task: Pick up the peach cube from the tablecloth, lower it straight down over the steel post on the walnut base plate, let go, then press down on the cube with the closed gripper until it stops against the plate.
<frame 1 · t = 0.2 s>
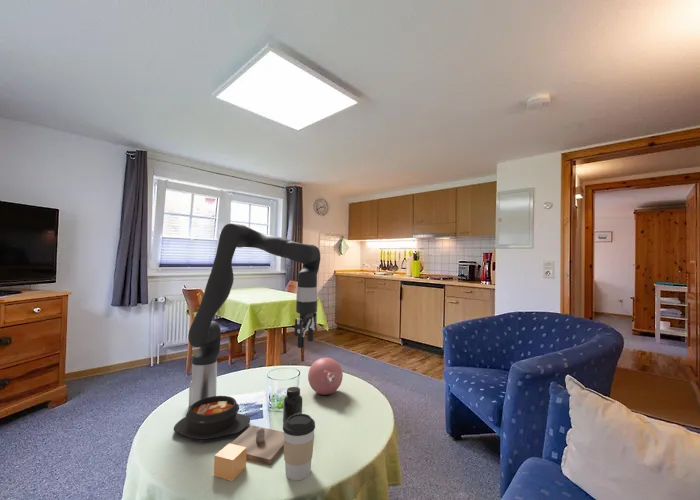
hand: (305, 344, 113), 29 cm above the table, tool pointing down, fingers open, 8 cm apart
peach cube: (230, 471, 88), on the table
post stand: (260, 445, 100), on the table
supplement bottle: (292, 423, 114), on the table
casserole: (212, 429, 109), on the table
coffee cup: (298, 472, 88), on the table
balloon: (325, 395, 137), on the table
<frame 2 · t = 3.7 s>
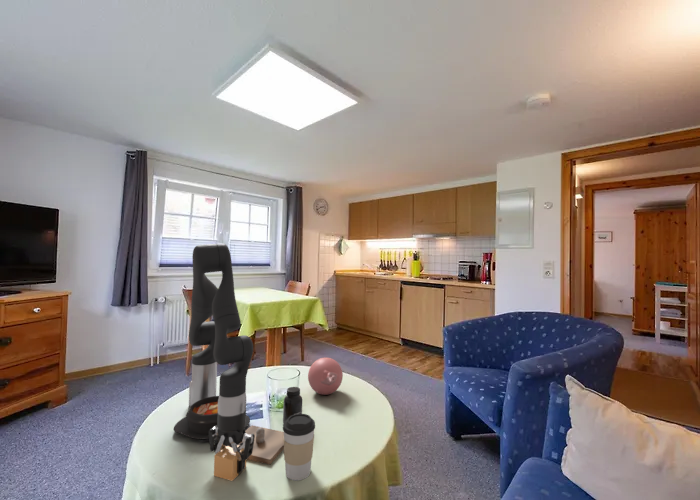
hand: (230, 468, 87), 1 cm above the table, tool pointing down, fingers closed on peach cube, 6 cm apart
peach cube: (230, 471, 88), on the table, touching gripper
everything else where it was.
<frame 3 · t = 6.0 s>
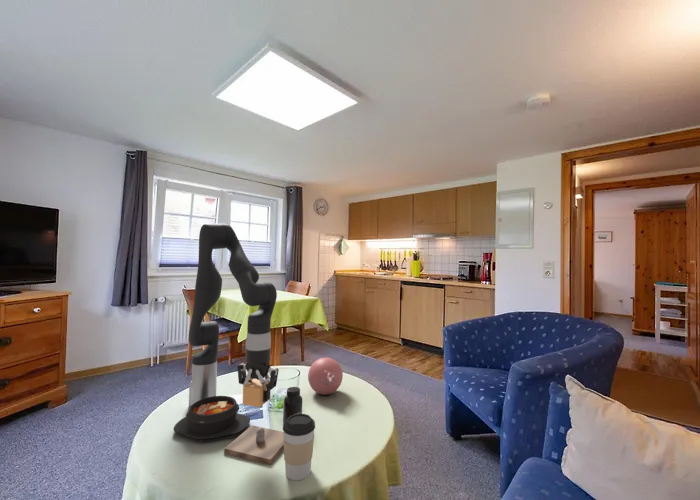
hand: (256, 399, 99), 15 cm above the table, tool pointing down, fingers closed on peach cube, 6 cm apart
peach cube: (256, 401, 99), point 15 cm above the table, touching gripper
everything else where it was.
when the fingers open (3 cm above the table, at t = 8.7 s): peach cube stays where it is, resting on post stand.
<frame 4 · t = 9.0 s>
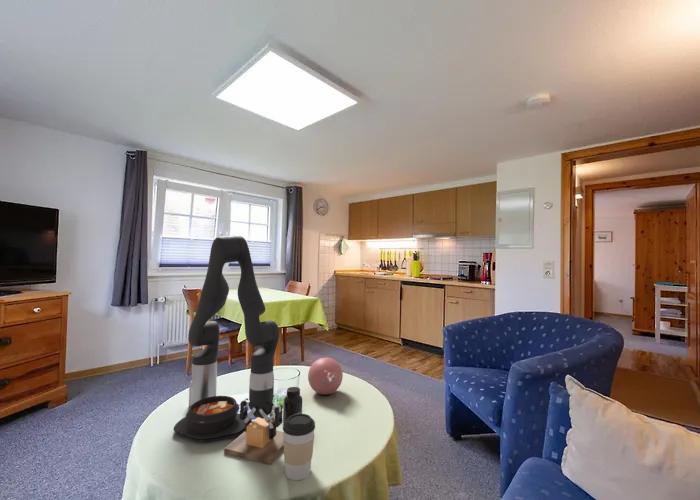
hand: (260, 435, 100), 3 cm above the table, tool pointing down, fingers open, 8 cm apart
peach cube: (259, 440, 100), point 1 cm above the table, touching post stand
everything else where it was.
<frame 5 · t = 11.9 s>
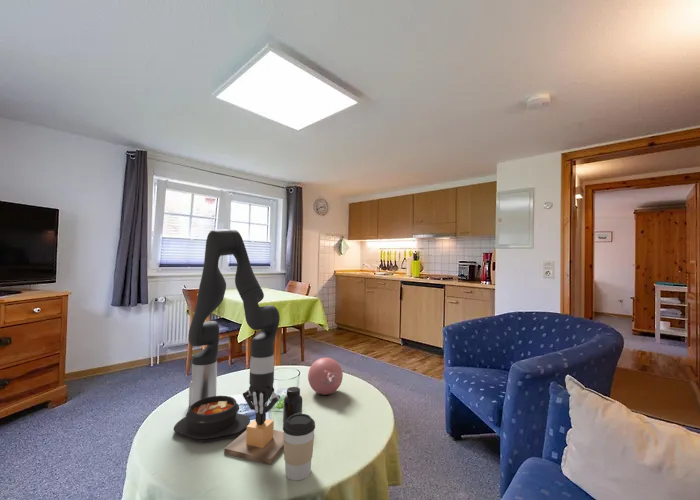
hand: (260, 423, 100), 7 cm above the table, tool pointing down, fingers closed
peach cube: (259, 440, 100), point 1 cm above the table, touching gripper, post stand
everything else where it was.
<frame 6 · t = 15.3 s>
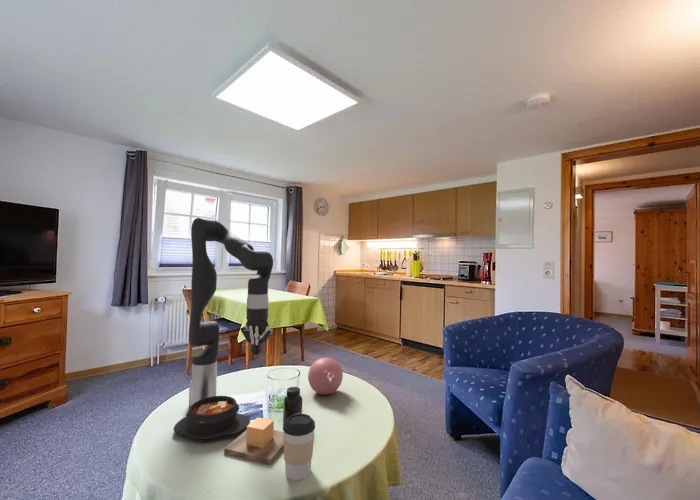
hand: (256, 354, 112), 25 cm above the table, tool pointing down, fingers closed
peach cube: (259, 440, 100), point 1 cm above the table, touching post stand
everything else where it was.
at the end: peach cube 0.1 cm from the post stand (horizontally); peach cube point 1.5 cm above the table; peach cube tilted 0° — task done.
